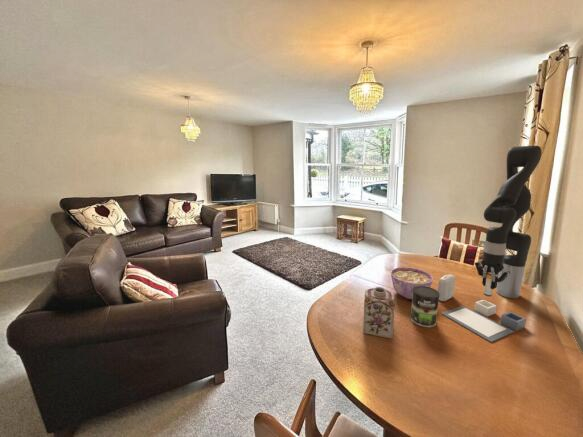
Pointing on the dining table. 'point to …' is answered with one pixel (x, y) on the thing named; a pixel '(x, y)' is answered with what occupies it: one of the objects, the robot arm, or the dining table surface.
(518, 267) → the robot arm
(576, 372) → the dining table surface
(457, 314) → the writing board
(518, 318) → the cup
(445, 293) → the photo printer
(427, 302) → the coffee can
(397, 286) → the bowl of food
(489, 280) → the marker
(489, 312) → the cup
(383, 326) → the decorative jar
